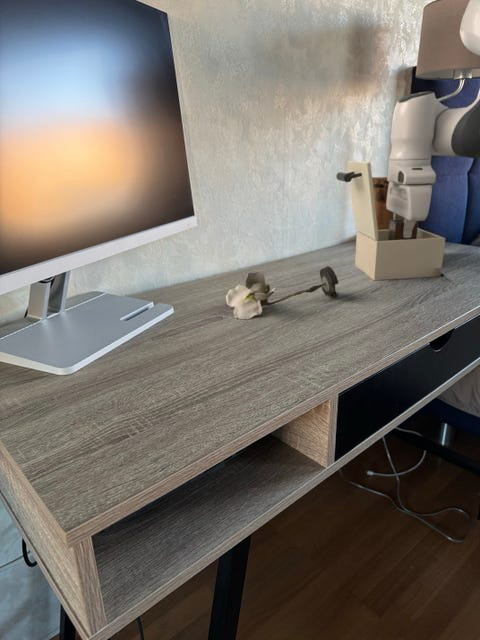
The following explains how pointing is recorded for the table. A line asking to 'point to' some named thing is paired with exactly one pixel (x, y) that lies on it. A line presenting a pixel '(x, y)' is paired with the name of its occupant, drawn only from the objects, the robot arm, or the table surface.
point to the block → (381, 203)
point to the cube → (400, 230)
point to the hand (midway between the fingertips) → (402, 234)
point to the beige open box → (399, 256)
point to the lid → (362, 197)
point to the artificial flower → (270, 293)
